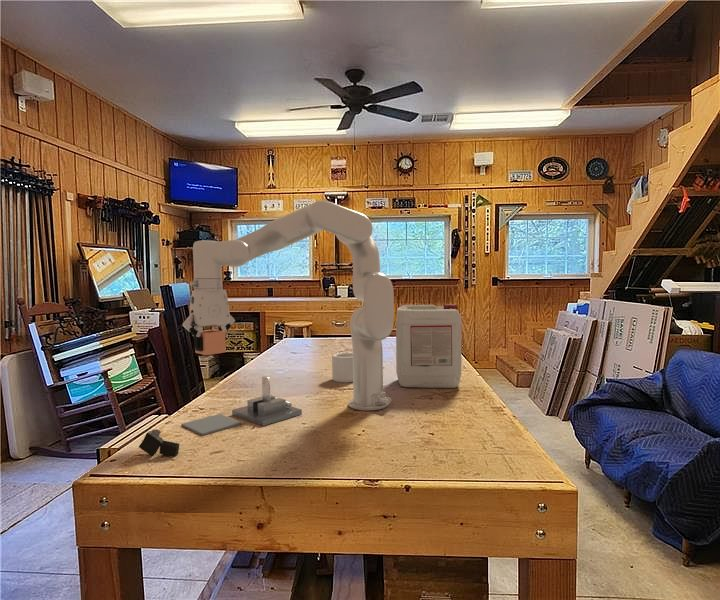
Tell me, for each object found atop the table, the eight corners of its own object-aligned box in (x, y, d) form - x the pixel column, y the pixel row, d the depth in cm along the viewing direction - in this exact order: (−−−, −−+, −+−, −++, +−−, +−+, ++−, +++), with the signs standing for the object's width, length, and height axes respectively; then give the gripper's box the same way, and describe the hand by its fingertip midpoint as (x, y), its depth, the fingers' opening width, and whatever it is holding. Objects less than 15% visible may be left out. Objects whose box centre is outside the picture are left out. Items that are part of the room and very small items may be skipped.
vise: (301, 414, 140) (300, 376, 139) (263, 426, 130) (261, 385, 129) (270, 404, 151) (269, 369, 150) (232, 414, 141) (230, 377, 140)
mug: (359, 382, 178) (358, 357, 177) (331, 383, 178) (330, 357, 178) (360, 374, 192) (359, 350, 191) (334, 375, 192) (333, 351, 191)
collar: (225, 352, 131) (225, 331, 130) (206, 355, 126) (205, 333, 126) (214, 349, 135) (214, 329, 134) (195, 352, 130) (194, 331, 130)
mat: (241, 424, 132) (241, 422, 132) (202, 435, 123) (202, 433, 123) (219, 415, 140) (219, 413, 140) (181, 425, 131) (181, 423, 131)
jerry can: (457, 377, 184) (457, 302, 182) (463, 389, 165) (463, 306, 163) (397, 377, 186) (396, 302, 184) (396, 389, 168) (395, 306, 166)
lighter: (173, 463, 112) (184, 444, 111) (168, 467, 110) (179, 448, 109) (143, 443, 113) (154, 424, 112) (138, 447, 110) (149, 427, 110)
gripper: (185, 286, 120) (187, 355, 122) (242, 284, 133) (244, 346, 134) (172, 285, 126) (174, 351, 127) (228, 284, 138) (230, 344, 139)
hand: (210, 348), depth 130 cm, fingers closed on collar, 6 cm apart
